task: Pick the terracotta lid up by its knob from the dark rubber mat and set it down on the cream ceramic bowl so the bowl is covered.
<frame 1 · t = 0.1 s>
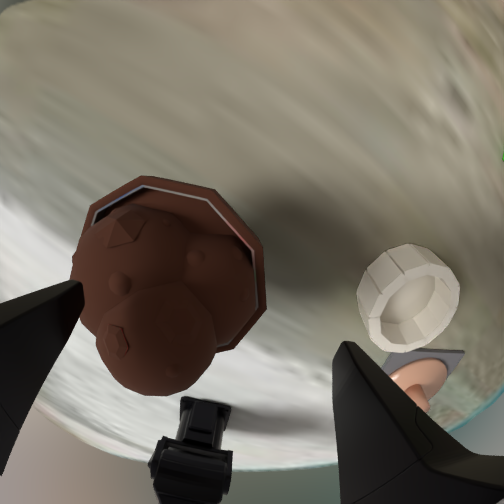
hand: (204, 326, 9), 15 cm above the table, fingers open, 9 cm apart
bowl: (400, 288, 24), on the table
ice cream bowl: (201, 223, 23), on the table
mat: (409, 382, 30), on the table
lid: (410, 386, 29), point 1 cm above the table, touching mat
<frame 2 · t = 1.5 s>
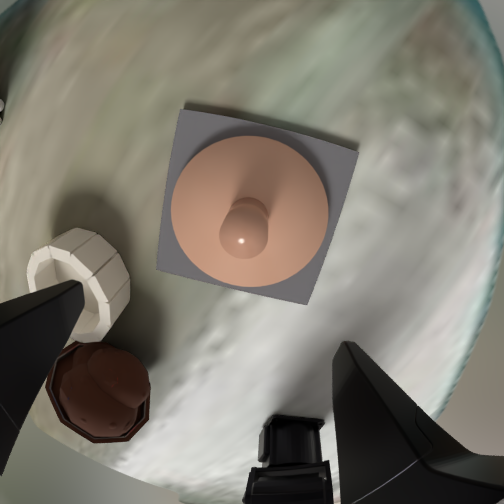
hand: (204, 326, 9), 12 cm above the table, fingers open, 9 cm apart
bowl: (88, 275, 23), on the table
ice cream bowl: (85, 410, 26), point 4 cm above the table
mat: (249, 211, 20), on the table
lid: (249, 213, 19), point 1 cm above the table, touching mat
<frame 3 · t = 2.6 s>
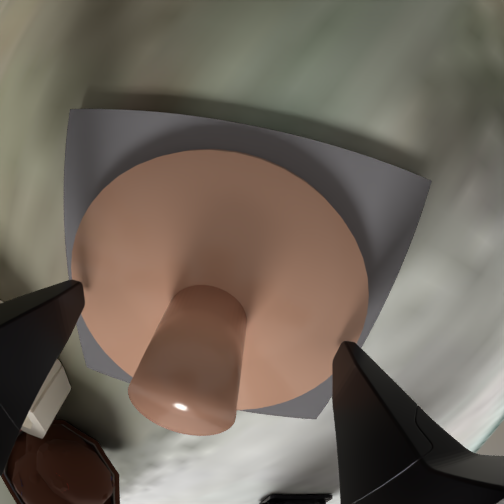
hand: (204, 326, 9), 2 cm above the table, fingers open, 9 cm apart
bowl: (19, 352, 14), on the table
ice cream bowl: (57, 476, 17), point 4 cm above the table
mat: (214, 296, 10), on the table
lid: (211, 305, 10), point 1 cm above the table, touching mat
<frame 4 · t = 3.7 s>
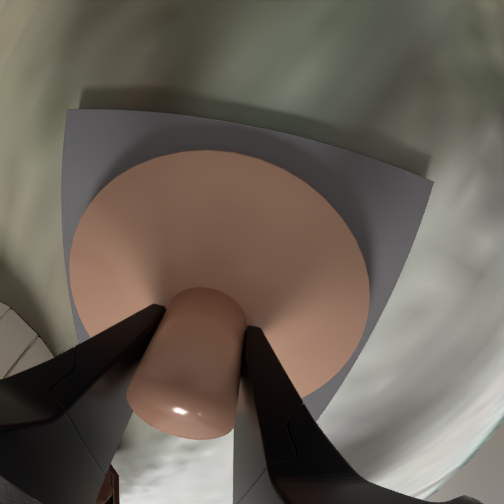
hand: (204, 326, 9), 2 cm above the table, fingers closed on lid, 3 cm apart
bowl: (18, 354, 13), on the table
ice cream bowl: (57, 477, 17), point 4 cm above the table
mat: (213, 298, 10), on the table
lid: (210, 307, 10), point 1 cm above the table, touching gripper, mat
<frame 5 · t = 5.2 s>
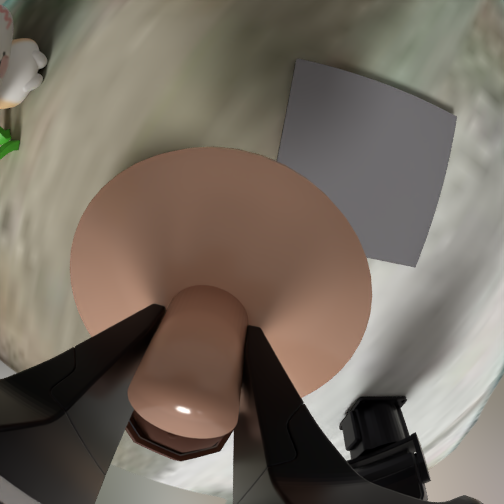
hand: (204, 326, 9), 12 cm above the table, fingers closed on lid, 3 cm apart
kitten: (25, 78, 15), on the table
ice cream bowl: (145, 421, 24), point 4 cm above the table
mat: (367, 168, 17), on the table
lid: (211, 306, 10), point 11 cm above the table, touching gripper
when the fingers open (6 cm above the table, at t = 7.0 s): lid stays where it is, resting on bowl.
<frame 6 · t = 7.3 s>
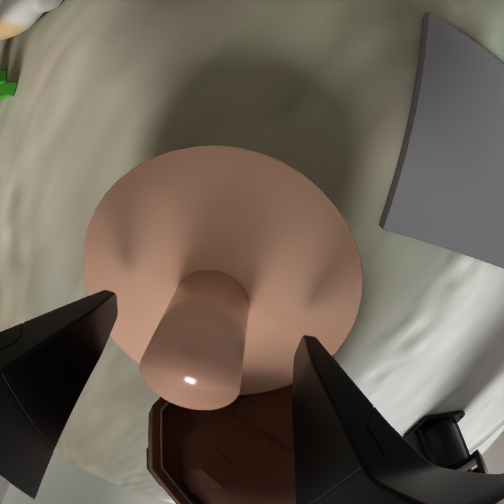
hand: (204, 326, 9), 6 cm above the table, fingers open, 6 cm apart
kitten: (37, 5, 8), on the table
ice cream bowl: (176, 462, 18), point 4 cm above the table
mat: (490, 155, 11), on the table
lid: (215, 291, 11), point 4 cm above the table, touching bowl
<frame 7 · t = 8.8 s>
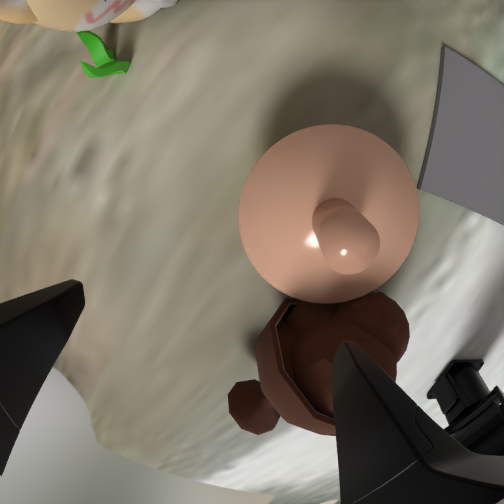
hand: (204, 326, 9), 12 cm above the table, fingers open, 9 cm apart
kitten: (143, 0, 14), on the table
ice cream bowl: (252, 407, 23), point 4 cm above the table
mat: (486, 142, 16), on the table
lid: (332, 217, 16), point 4 cm above the table, touching bowl
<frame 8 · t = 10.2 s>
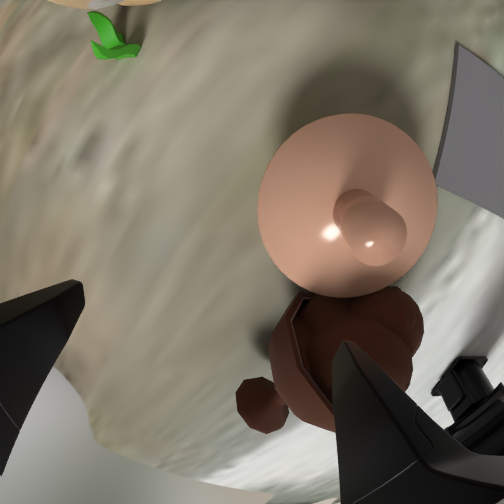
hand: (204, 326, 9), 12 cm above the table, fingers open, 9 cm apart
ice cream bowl: (260, 405, 22), point 4 cm above the table
mat: (495, 140, 15), on the table
lid: (352, 208, 15), point 4 cm above the table, touching bowl
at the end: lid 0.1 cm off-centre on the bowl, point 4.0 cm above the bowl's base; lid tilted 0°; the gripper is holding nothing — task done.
